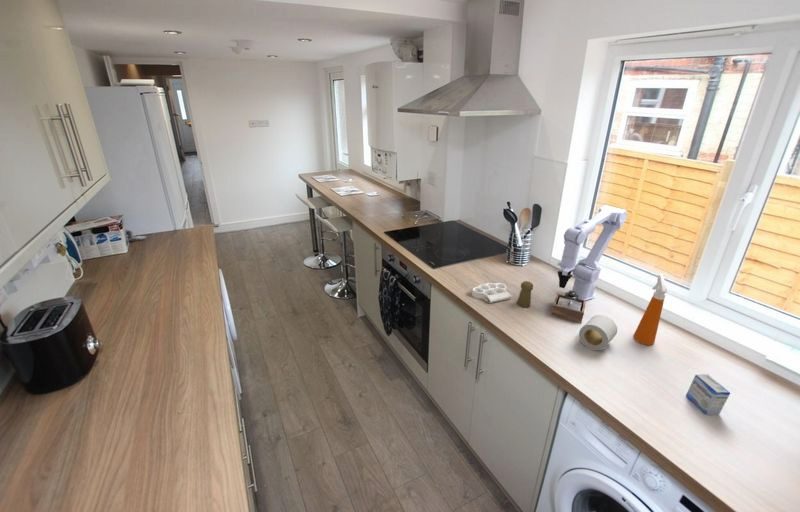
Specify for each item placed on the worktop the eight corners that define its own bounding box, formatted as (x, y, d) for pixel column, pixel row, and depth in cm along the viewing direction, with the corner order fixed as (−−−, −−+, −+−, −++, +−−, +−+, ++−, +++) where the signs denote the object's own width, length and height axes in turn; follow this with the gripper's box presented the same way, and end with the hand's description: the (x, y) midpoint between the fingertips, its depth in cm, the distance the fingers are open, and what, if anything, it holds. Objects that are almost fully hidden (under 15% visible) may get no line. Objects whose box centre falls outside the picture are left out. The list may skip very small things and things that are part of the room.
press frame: (554, 302, 167) (557, 293, 165) (583, 310, 161) (586, 300, 160) (550, 314, 157) (553, 304, 155) (581, 323, 152) (583, 313, 150)
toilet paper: (586, 332, 146) (592, 310, 142) (613, 343, 140) (620, 321, 136) (576, 342, 140) (582, 320, 136) (604, 355, 133) (611, 332, 129)
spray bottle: (648, 331, 148) (669, 273, 137) (656, 347, 138) (679, 285, 128) (629, 327, 150) (648, 269, 139) (635, 342, 140) (656, 282, 130)
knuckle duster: (483, 306, 163) (466, 291, 175) (516, 299, 169) (496, 285, 182) (484, 299, 161) (466, 285, 174) (517, 293, 168) (497, 279, 180)
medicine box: (685, 395, 116) (694, 373, 112) (698, 395, 116) (708, 373, 112) (706, 415, 108) (717, 392, 105) (720, 414, 109) (731, 392, 105)
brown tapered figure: (531, 308, 161) (535, 286, 157) (517, 306, 162) (521, 285, 158) (529, 301, 167) (533, 280, 163) (515, 300, 168) (519, 278, 164)
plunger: (559, 298, 164) (562, 285, 161) (581, 304, 160) (584, 290, 157) (556, 307, 156) (559, 294, 154) (579, 313, 152) (583, 299, 150)
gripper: (562, 248, 164) (556, 275, 169) (557, 259, 152) (550, 288, 157) (579, 252, 161) (572, 279, 166) (575, 263, 149) (568, 292, 154)
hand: (563, 284), depth 161 cm, fingers open, 7 cm apart
